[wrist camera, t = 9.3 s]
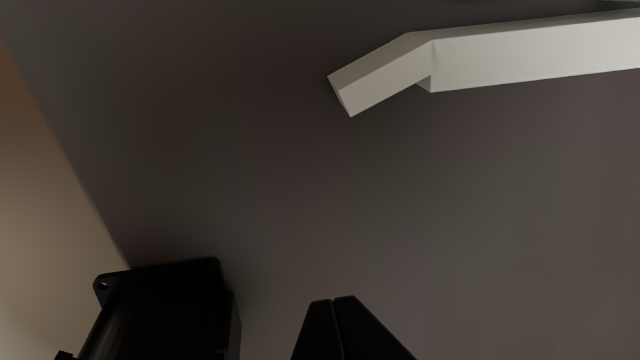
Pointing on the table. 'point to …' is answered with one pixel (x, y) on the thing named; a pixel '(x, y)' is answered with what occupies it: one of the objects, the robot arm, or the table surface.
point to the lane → (492, 55)
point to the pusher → (622, 0)
